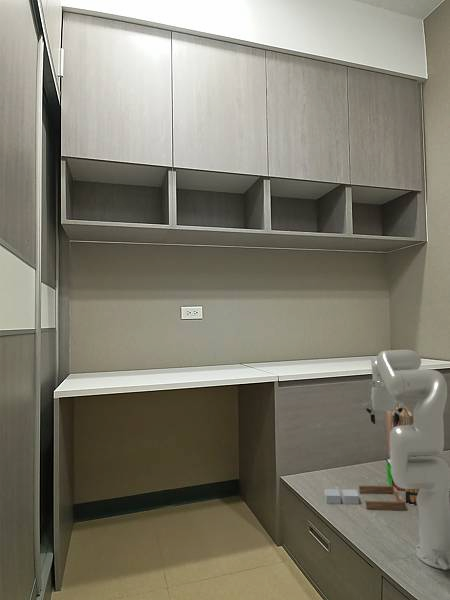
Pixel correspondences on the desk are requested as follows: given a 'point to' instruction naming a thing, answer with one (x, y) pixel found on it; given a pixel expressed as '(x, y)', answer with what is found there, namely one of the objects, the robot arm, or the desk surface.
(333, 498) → the tile trail
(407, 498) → the ammunition clip
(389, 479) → the puzzle cube
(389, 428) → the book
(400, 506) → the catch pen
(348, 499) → the tile
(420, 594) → the desk surface
